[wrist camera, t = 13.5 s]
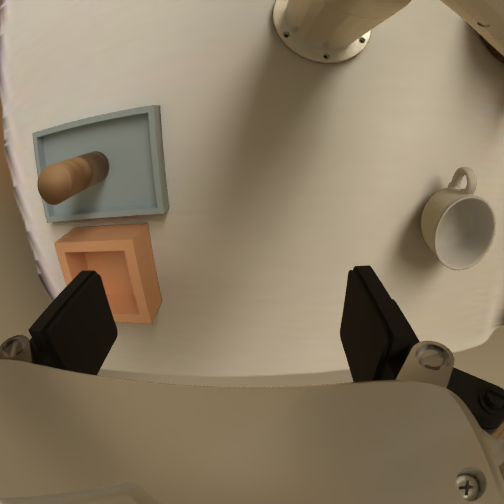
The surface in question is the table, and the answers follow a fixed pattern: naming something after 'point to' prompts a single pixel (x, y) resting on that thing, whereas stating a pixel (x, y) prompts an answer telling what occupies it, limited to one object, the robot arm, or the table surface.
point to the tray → (110, 164)
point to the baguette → (72, 176)
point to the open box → (115, 267)
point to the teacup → (458, 223)
